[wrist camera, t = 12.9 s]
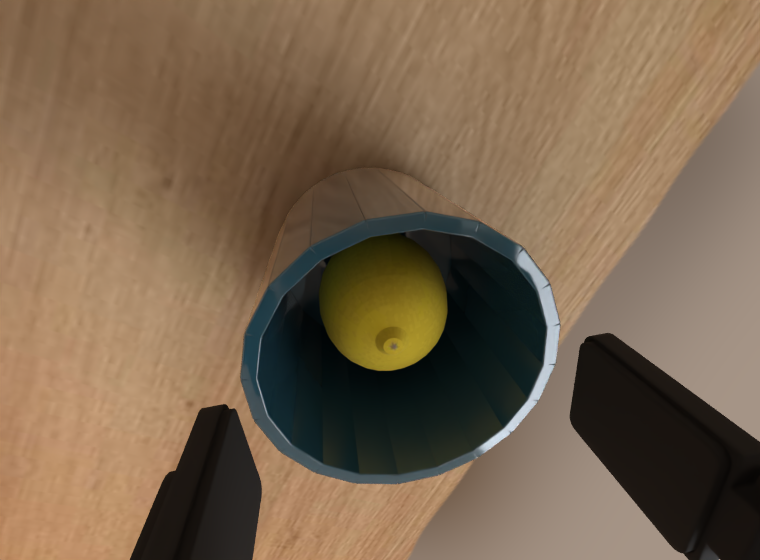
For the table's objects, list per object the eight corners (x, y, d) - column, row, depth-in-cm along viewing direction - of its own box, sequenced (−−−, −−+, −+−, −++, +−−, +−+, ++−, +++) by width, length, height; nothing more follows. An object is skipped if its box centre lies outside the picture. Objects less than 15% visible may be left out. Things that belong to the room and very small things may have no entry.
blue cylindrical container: (256, 180, 18) (195, 243, 9) (454, 155, 19) (577, 189, 10) (296, 349, 22) (281, 509, 13) (457, 322, 23) (546, 453, 14)
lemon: (440, 284, 21) (492, 373, 14) (352, 324, 21) (356, 430, 14) (401, 195, 19) (438, 244, 11) (304, 241, 19) (280, 318, 12)
